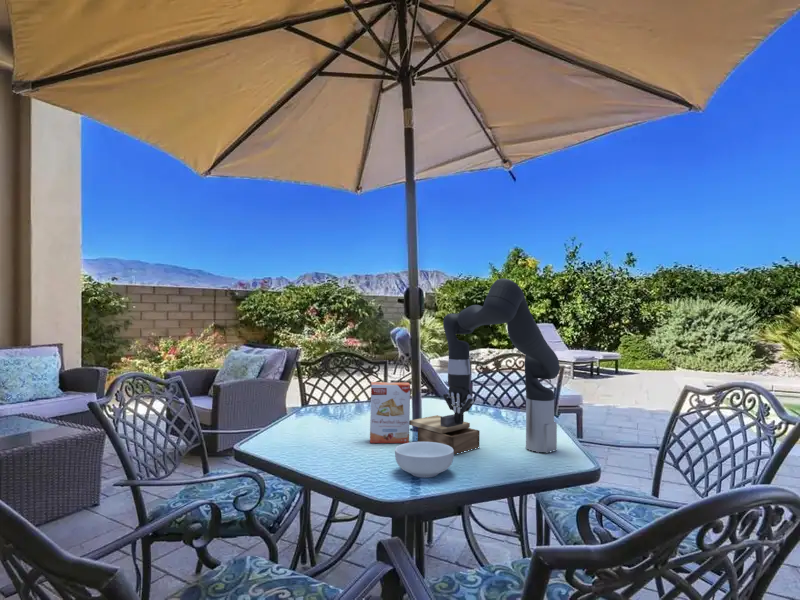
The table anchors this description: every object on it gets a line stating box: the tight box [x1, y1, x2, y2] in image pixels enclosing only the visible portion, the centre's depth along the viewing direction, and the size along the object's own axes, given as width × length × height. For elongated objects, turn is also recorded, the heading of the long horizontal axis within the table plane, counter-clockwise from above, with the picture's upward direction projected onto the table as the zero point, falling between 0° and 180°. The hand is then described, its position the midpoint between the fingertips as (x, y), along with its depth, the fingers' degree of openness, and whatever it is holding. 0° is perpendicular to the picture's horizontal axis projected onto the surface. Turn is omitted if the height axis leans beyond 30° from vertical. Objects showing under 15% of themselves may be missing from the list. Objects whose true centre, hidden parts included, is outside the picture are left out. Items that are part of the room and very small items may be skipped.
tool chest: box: [417, 427, 481, 455], centre depth 163 cm, size 16×14×6 cm
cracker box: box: [369, 381, 411, 444], centre depth 169 cm, size 14×6×21 cm, turn 94°
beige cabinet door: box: [409, 413, 471, 434], centre depth 166 cm, size 16×14×4 cm
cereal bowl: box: [394, 441, 455, 479], centre depth 136 cm, size 17×17×7 cm
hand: (459, 423), depth 159 cm, fingers closed
